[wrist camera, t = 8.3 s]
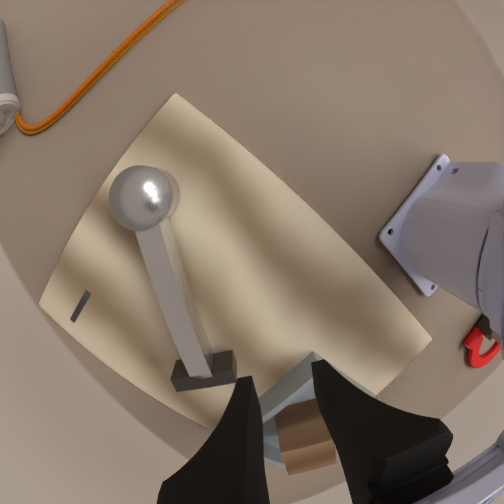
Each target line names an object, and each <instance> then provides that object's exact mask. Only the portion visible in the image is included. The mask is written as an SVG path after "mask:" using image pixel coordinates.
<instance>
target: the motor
mask: <svg viewBox="0 0 504 504" xmlns="http://www.w3.org/2000/svg"><path fill="white" fill-rule="evenodd" d="M176 1H177V0H170V1H169V2H167V3H166V4H165V5H164V6H163V7H161V8H160V9H159V10H158V11H157V12H156V13H154V14H153V15H152V16H151V17H150V18H149V19H147V20H146V21H145V22H144V23H143V24H142V25H141V26H140V27H139V28H138V29H136V30H135V31H134V32H133V33H132V34H131V35H130V36H129V37H128V38H127V39H126V40H125V41H124V42H123V43H122V44H121V45H120V46H119V47H118V48H117V49H116V50H115V51H114V52H113V53H112V54H111V55H110V56H109V57H108V58H107V59H106V60H105V61H104V62H103V63H102V64H101V65H100V66H99V67H98V68H97V69H96V70H95V71H94V72H93V73H92V75H91V76H90V77H89V78H88V79H87V80H86V81H85V82H84V83H83V84H82V85H81V86H80V87H79V88H78V89H77V90H76V91H75V92H74V93H73V94H72V95H71V96H70V98H69V99H68V100H67V101H66V102H65V103H64V104H63V105H62V106H61V107H60V108H58V109H57V110H56V111H55V112H54V113H53V114H52V115H51V116H49V117H48V118H47V119H46V120H44V121H42V122H41V123H39V124H37V125H32V126H31V125H27V124H26V123H25V122H24V121H23V120H22V118H21V116H20V110H21V107H20V103H19V99H18V95H17V91H16V87H15V82H14V78H13V73H12V68H11V63H10V57H9V51H8V44H7V37H6V28H5V23H4V22H3V21H2V20H1V19H0V135H2V134H3V133H5V132H6V131H7V130H8V129H9V128H10V126H11V125H12V124H13V123H14V122H15V121H16V124H17V126H18V127H19V129H20V130H21V131H22V132H24V133H26V134H36V133H39V132H41V131H43V130H45V129H46V128H48V127H49V126H51V125H52V124H53V123H54V122H56V121H57V120H58V119H59V118H60V117H62V116H63V115H64V114H65V113H66V112H67V111H68V110H69V109H70V108H71V107H72V106H73V105H74V104H75V103H76V102H77V101H78V100H79V99H80V98H81V97H82V96H83V95H84V94H85V93H86V92H87V91H88V90H89V89H90V88H91V87H92V86H93V85H94V84H95V83H96V82H97V81H98V80H99V79H100V78H101V77H102V76H103V75H104V74H105V73H106V72H107V71H108V70H109V69H110V68H111V67H112V66H113V65H114V64H115V63H116V62H117V61H118V60H119V59H120V58H121V57H122V56H123V55H124V54H125V53H126V52H127V51H128V50H129V49H130V48H131V47H132V46H133V45H134V44H135V43H137V42H138V41H139V40H140V39H141V38H142V37H143V36H144V35H145V34H146V33H147V32H148V31H150V30H151V29H152V28H153V27H154V26H155V25H156V24H157V23H159V22H160V21H161V20H162V19H163V18H164V17H165V16H166V15H167V14H169V13H170V12H171V11H172V10H173V9H175V8H176V7H177V6H178V5H179V4H180V3H182V2H183V1H184V0H181V1H179V2H178V3H176V4H175V5H174V6H172V7H171V8H170V9H169V10H167V11H166V12H165V13H164V14H162V13H163V12H164V11H165V10H166V9H168V8H169V7H170V6H171V5H172V4H174V3H175V2H176ZM161 14H162V15H161ZM159 15H161V16H160V17H159V18H157V17H158V16H159ZM156 18H157V19H156ZM155 19H156V20H155ZM154 20H155V21H154ZM153 21H154V22H153ZM151 22H153V23H152V24H150V23H151ZM149 24H150V25H149ZM148 25H149V26H148ZM147 26H148V27H147ZM146 27H147V28H146ZM145 28H146V29H145ZM144 29H145V30H144ZM141 31H142V32H141ZM140 32H141V33H140ZM139 33H140V34H139ZM138 34H139V35H138ZM137 35H138V36H137ZM136 36H137V37H136ZM135 37H136V38H135ZM134 38H135V39H134Z"/></svg>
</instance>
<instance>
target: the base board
mask: <svg viewBox="0 0 504 504" xmlns="http://www.w3.org/2000/svg"><path fill="white" fill-rule="evenodd" d="M136 165H143V166H150V167H156V168H161V169H164V170H166V171H168V172H169V173H170V174H172V175H173V177H174V178H175V179H176V181H177V183H178V185H179V189H180V201H179V204H178V207H177V209H176V211H175V212H174V214H173V215H172V216H171V217H170V218H169V220H170V223H171V227H172V230H173V234H174V237H175V241H176V244H177V248H178V251H179V254H180V257H181V261H182V264H183V267H184V270H185V274H186V277H187V280H188V283H189V286H190V289H191V292H192V295H193V298H194V301H195V304H196V307H197V310H198V313H199V316H200V318H201V321H202V324H203V327H204V330H205V332H206V335H207V338H208V341H209V343H210V346H211V349H212V351H213V353H219V352H224V351H228V350H233V352H234V355H235V358H236V361H237V379H238V378H240V377H246V376H251V375H252V378H253V382H254V385H255V389H256V393H257V396H258V398H259V397H260V396H261V395H263V394H264V393H265V392H266V391H268V390H269V389H270V388H271V387H272V386H274V385H275V384H276V383H277V382H278V381H279V380H281V379H282V378H283V377H284V376H285V375H286V374H288V373H289V372H290V371H291V370H292V369H293V368H294V367H296V366H297V365H298V364H299V363H300V362H301V361H302V360H303V359H304V358H306V357H307V356H308V355H309V354H310V353H311V352H312V351H314V352H315V353H317V354H318V355H320V356H321V357H322V358H324V359H325V360H326V361H328V362H329V363H331V364H332V365H333V366H335V367H336V368H338V369H339V370H341V371H342V372H343V373H345V374H346V375H348V376H349V377H350V378H352V379H353V380H355V381H356V382H358V383H359V384H361V385H362V386H363V387H365V388H366V389H368V390H369V391H371V392H372V393H374V395H375V396H376V395H377V394H378V393H379V392H380V391H381V390H382V389H383V388H385V387H386V386H387V385H388V384H389V383H390V382H391V381H392V380H393V379H394V378H395V377H396V376H397V375H398V374H399V373H400V372H401V371H403V370H404V369H405V368H406V367H407V366H408V365H409V363H410V362H411V361H412V360H413V359H414V358H415V357H416V356H417V355H418V354H419V353H420V352H421V351H422V350H423V349H424V348H425V347H426V345H427V344H428V343H429V342H430V341H431V340H432V338H431V337H430V336H429V334H428V333H427V332H426V331H425V329H424V328H423V327H422V326H421V325H420V323H419V322H418V321H417V320H416V319H415V317H414V316H413V315H412V314H411V313H410V312H409V310H408V309H407V308H406V307H405V306H404V305H403V303H402V302H401V301H400V300H399V299H398V298H397V297H396V295H395V294H394V293H393V292H392V291H391V290H390V289H389V288H388V287H387V285H386V284H385V283H384V282H383V281H382V280H381V279H380V278H379V277H378V276H377V274H376V273H375V272H374V271H373V270H372V269H371V268H370V267H369V266H368V265H367V264H366V263H365V262H364V261H363V259H362V258H361V257H360V256H359V255H358V254H357V253H356V252H355V251H354V250H353V249H352V248H351V247H350V246H349V245H348V244H347V243H346V242H345V241H344V240H343V239H342V238H341V237H340V236H339V235H338V234H337V233H336V232H335V231H334V230H333V229H332V228H331V227H330V226H329V225H328V224H327V223H326V222H325V221H324V220H323V219H322V218H321V217H320V216H319V215H318V214H317V213H316V212H315V211H314V210H313V209H312V208H311V207H310V206H309V205H308V204H306V203H305V202H304V201H303V200H302V199H301V198H300V197H299V196H298V195H297V194H296V193H295V192H294V191H293V190H291V189H290V188H289V187H288V186H287V185H286V184H285V183H284V182H283V181H282V180H281V179H279V178H278V177H277V176H276V175H275V174H274V173H273V172H272V171H270V170H269V169H268V168H267V167H266V166H265V165H264V164H263V163H261V162H260V161H259V160H258V159H257V158H256V157H255V156H253V155H252V154H251V153H250V152H249V151H248V150H246V149H245V148H244V147H243V146H242V145H240V144H239V143H238V142H237V141H236V140H234V139H233V138H232V137H231V136H230V135H228V134H227V133H226V132H225V131H224V130H222V129H221V128H220V127H219V126H217V125H216V124H215V123H214V122H212V121H211V120H210V119H209V118H207V117H206V116H205V115H204V114H202V113H201V112H200V111H198V110H197V109H196V108H195V107H193V106H192V105H191V104H189V103H188V102H187V101H185V100H184V99H183V98H181V97H180V96H179V95H177V94H176V93H175V94H174V95H173V96H172V97H171V98H170V99H169V100H168V101H167V102H166V103H165V105H164V106H163V107H162V108H161V109H160V110H159V111H158V112H157V114H156V115H155V116H154V117H153V118H152V119H151V121H150V122H149V123H148V124H147V125H146V127H145V128H144V129H143V130H142V132H141V133H140V134H139V135H138V137H137V138H136V139H135V140H134V142H133V143H132V144H131V145H130V147H129V148H128V149H127V151H126V152H125V153H124V155H123V156H122V157H121V159H120V160H119V162H118V163H117V164H116V166H115V167H114V169H113V170H112V171H111V173H110V174H109V176H108V177H107V179H106V180H105V182H104V183H103V185H102V186H101V188H100V189H99V191H98V192H97V194H96V195H95V197H94V198H93V200H92V202H91V203H90V205H89V206H88V208H87V210H86V211H85V213H84V215H83V216H82V218H81V220H80V221H79V223H78V225H77V227H76V228H75V230H74V232H73V234H72V236H71V237H70V239H69V241H68V243H67V245H66V247H65V249H64V251H63V252H62V254H61V256H60V258H59V260H58V262H57V264H56V266H55V269H54V271H53V273H52V275H51V277H50V279H49V281H48V284H47V286H46V288H45V290H44V293H43V295H42V297H41V300H40V302H39V305H40V306H41V307H42V308H43V309H44V310H45V311H46V312H47V313H48V314H49V315H50V316H51V317H52V318H53V319H54V320H55V321H56V322H57V323H58V324H59V325H60V326H61V327H62V328H63V329H64V330H66V331H67V332H68V333H69V334H70V335H71V336H72V337H73V338H75V339H76V340H77V341H78V342H79V343H80V344H82V345H83V346H84V347H85V348H86V349H88V350H89V351H90V352H91V353H92V354H94V355H95V356H96V357H97V358H99V359H100V360H101V361H102V362H104V363H105V364H106V365H108V366H109V367H110V368H112V369H113V370H114V371H116V372H117V373H118V374H120V375H121V376H123V377H124V378H125V379H127V380H128V381H130V382H131V383H132V384H134V385H135V386H137V387H138V388H140V389H141V390H143V391H144V392H146V393H147V394H149V395H150V396H152V397H154V398H155V399H157V400H158V401H160V402H162V403H163V404H165V405H166V406H168V407H170V408H171V409H173V410H175V411H177V412H178V413H180V414H182V415H184V416H185V417H187V418H189V419H191V420H193V421H194V422H196V423H198V424H200V425H202V426H204V427H206V428H208V429H210V430H212V431H214V429H215V428H216V426H217V424H218V423H219V421H220V419H221V417H222V415H223V413H224V411H225V409H226V407H227V405H228V403H229V400H230V398H231V395H232V393H233V390H234V387H235V384H236V383H232V384H227V385H221V386H215V387H209V388H203V389H196V390H189V391H181V392H176V390H175V388H174V386H173V384H172V382H171V380H170V378H171V375H172V372H173V368H174V365H175V362H176V360H180V359H181V356H180V354H179V352H178V349H177V347H176V345H175V342H174V340H173V337H172V335H171V333H170V330H169V328H168V325H167V323H166V320H165V318H164V315H163V312H162V310H161V307H160V305H159V302H158V299H157V296H156V294H155V291H154V288H153V285H152V282H151V280H150V277H149V274H148V271H147V268H146V265H145V262H144V259H143V256H142V253H141V249H140V246H139V243H138V240H137V236H136V233H135V231H131V230H128V229H126V228H124V227H123V226H121V225H120V224H119V223H118V222H117V221H116V220H115V218H114V217H113V215H112V213H111V210H110V207H109V191H110V187H111V185H112V183H113V181H114V179H115V178H116V176H117V175H118V174H119V173H120V172H122V171H123V170H125V169H126V168H128V167H131V166H136Z"/></svg>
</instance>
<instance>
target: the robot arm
mask: <svg viewBox="0 0 504 504" xmlns="http://www.w3.org/2000/svg"><path fill="white" fill-rule="evenodd" d="M437 166H438V167H439V170H437ZM389 229H391V233H390V234H389V235H388V230H389ZM379 240H380V241H381V243H382V244H383V245H384V246H385V247H386V248H387V250H388V251H389V252H390V253H391V254H392V255H393V257H394V258H395V259H396V260H397V261H398V263H399V264H400V265H401V266H402V267H403V269H404V270H405V271H406V272H407V274H408V275H409V276H410V277H411V279H412V280H413V281H414V282H415V284H416V285H417V286H418V288H419V289H420V290H421V292H422V293H423V294H424V295H425V296H427V297H429V296H431V295H432V293H433V292H434V291H435V290H436V288H437V287H438V286H439V287H441V288H442V289H444V290H446V291H447V292H449V293H451V294H452V295H454V296H456V297H457V298H459V299H460V300H462V301H464V302H465V303H467V304H468V305H470V306H472V307H473V308H475V309H476V310H478V311H479V312H481V313H483V314H484V315H486V316H487V317H488V318H489V321H490V329H492V330H493V331H495V332H496V333H497V334H499V335H500V336H501V346H500V347H501V354H502V357H503V359H504V164H503V163H498V162H451V161H450V160H449V158H448V157H447V156H446V155H445V154H440V155H439V156H438V158H437V159H436V161H435V162H434V163H433V165H432V166H431V168H430V169H429V170H428V172H427V173H426V174H425V176H424V177H423V179H422V180H421V181H420V183H419V184H418V185H417V187H416V188H415V189H414V191H413V192H412V193H411V194H410V196H409V197H408V198H407V200H406V201H405V202H404V203H403V205H402V206H401V207H400V209H399V210H398V211H397V212H396V214H395V215H394V216H393V217H392V219H391V220H390V221H389V222H388V223H387V225H386V226H385V227H384V228H383V229H382V231H381V232H380V234H379ZM432 285H433V286H432ZM431 286H432V288H431ZM311 367H312V376H313V384H314V393H315V397H316V400H317V404H318V407H319V410H320V413H321V415H322V417H323V419H324V422H325V424H326V426H327V428H328V431H329V433H330V435H331V437H332V439H333V442H334V444H335V446H336V449H337V451H338V454H339V457H340V460H341V464H342V467H343V470H344V474H345V477H346V481H347V484H348V488H349V491H350V495H351V499H352V503H353V504H490V503H491V502H492V501H494V500H495V499H496V498H498V497H499V496H500V495H501V494H502V493H503V492H504V431H503V432H502V433H501V434H500V436H499V437H498V439H497V441H496V443H494V444H493V445H492V446H490V447H489V448H488V449H486V450H485V451H484V452H482V453H481V454H480V455H478V456H477V457H475V458H474V459H472V460H471V461H470V462H468V463H466V464H465V465H463V466H462V467H460V468H459V469H457V470H456V471H454V472H451V470H450V469H449V467H448V466H447V464H448V463H449V462H448V459H447V458H446V456H445V454H446V453H447V451H448V449H449V447H450V445H451V443H452V440H453V434H452V433H451V431H450V430H449V429H448V427H447V426H446V425H445V424H444V423H443V422H442V421H441V420H440V419H437V418H431V417H425V416H420V415H416V414H412V413H409V412H405V411H402V410H400V409H397V408H394V407H392V406H389V405H387V404H385V403H383V402H381V401H379V400H377V399H375V398H373V397H372V396H370V395H368V394H367V393H365V392H364V391H362V390H361V389H359V388H358V387H356V386H355V385H354V384H352V383H351V382H350V381H348V380H347V379H346V378H345V377H343V376H342V375H341V374H340V373H339V372H338V371H337V370H336V369H334V368H333V367H332V366H331V365H330V364H329V363H328V362H327V361H326V360H325V359H322V360H318V361H315V362H311ZM157 504H270V501H269V495H268V489H267V482H266V475H265V467H264V439H263V420H262V414H261V407H260V403H259V400H258V396H257V393H256V389H255V385H254V382H253V378H252V375H251V376H246V377H240V378H238V379H237V380H236V384H235V387H234V390H233V393H232V395H231V398H230V400H229V403H228V405H227V407H226V409H225V411H224V413H223V415H222V417H221V419H220V421H219V423H218V424H217V426H216V428H215V429H214V431H213V432H212V434H211V435H210V437H209V438H208V440H207V441H206V442H205V443H204V445H203V446H202V447H201V448H200V450H199V451H198V452H197V453H196V454H195V455H194V456H193V457H192V458H191V459H190V460H189V461H188V462H187V463H186V464H185V465H184V466H183V467H182V468H181V469H180V470H178V471H177V472H176V473H174V474H173V475H172V476H171V477H169V478H168V479H167V480H165V481H164V482H163V483H162V485H161V488H160V491H159V494H158V499H157Z"/></svg>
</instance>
